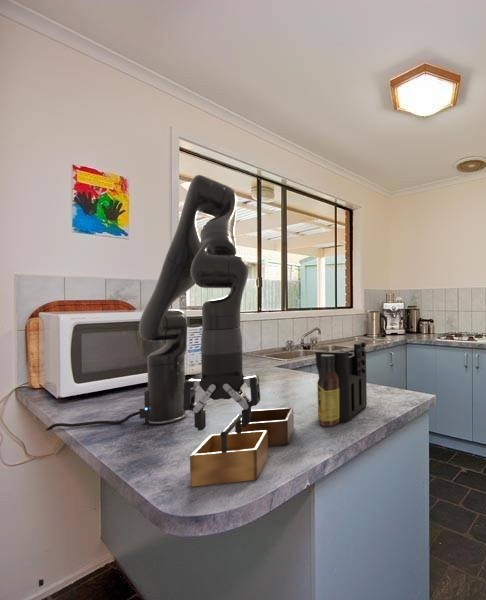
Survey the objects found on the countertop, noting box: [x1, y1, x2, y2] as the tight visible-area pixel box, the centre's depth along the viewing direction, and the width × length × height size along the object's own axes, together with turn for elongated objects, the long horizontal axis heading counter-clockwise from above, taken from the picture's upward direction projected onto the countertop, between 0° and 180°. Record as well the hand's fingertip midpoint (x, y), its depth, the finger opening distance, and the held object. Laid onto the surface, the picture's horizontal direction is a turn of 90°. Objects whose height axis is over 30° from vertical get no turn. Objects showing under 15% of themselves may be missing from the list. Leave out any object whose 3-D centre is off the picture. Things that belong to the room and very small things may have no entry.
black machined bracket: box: [314, 341, 368, 423], centre depth 103 cm, size 12×21×22 cm, turn 163°
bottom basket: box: [234, 407, 295, 448], centre depth 84 cm, size 12×10×6 cm
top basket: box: [189, 413, 269, 488], centre depth 69 cm, size 12×10×10 cm
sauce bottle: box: [316, 354, 340, 427], centre depth 94 cm, size 7×6×20 cm
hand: (223, 427), depth 68 cm, fingers open, 8 cm apart
